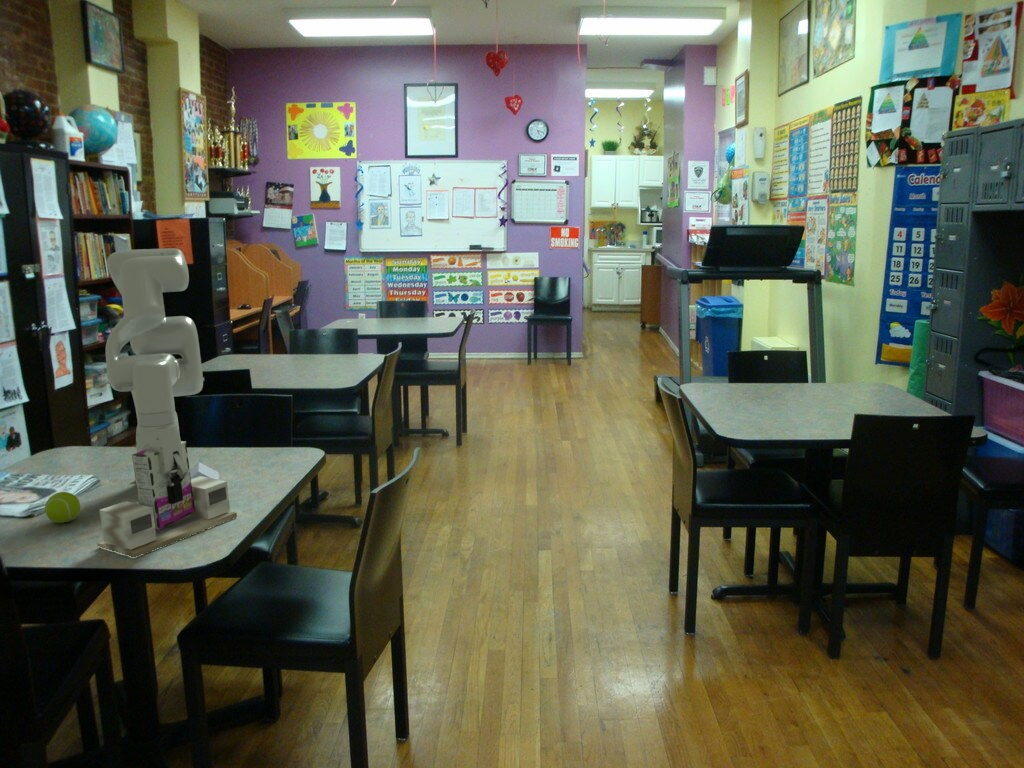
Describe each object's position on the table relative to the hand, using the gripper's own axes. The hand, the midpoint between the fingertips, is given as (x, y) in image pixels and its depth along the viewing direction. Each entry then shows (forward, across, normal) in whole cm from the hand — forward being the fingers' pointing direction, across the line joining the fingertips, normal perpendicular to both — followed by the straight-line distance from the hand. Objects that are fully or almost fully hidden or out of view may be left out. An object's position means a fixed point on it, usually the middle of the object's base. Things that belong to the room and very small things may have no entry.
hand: (166, 499), depth 181 cm
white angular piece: (+8, -15, +20) cm, 26 cm away
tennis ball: (+8, -28, -7) cm, 30 cm away
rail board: (+8, 0, 0) cm, 8 cm away
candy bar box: (+5, 0, 0) cm, 5 cm away
